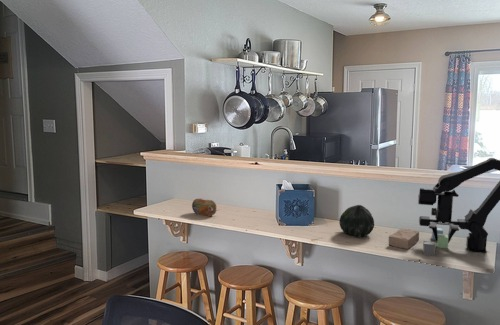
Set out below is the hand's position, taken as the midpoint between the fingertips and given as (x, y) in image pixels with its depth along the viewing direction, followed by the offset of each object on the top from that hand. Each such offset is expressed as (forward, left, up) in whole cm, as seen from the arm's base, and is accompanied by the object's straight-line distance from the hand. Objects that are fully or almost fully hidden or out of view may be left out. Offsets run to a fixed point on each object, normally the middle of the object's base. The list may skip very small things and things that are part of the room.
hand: (442, 242), depth 182 cm
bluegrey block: (+1, -10, -2) cm, 10 cm away
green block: (0, 0, -2) cm, 2 cm away
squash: (+35, -5, -2) cm, 35 cm away
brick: (+15, 0, -2) cm, 15 cm away
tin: (+114, -14, -2) cm, 115 cm away
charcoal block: (+6, +11, -2) cm, 13 cm away
